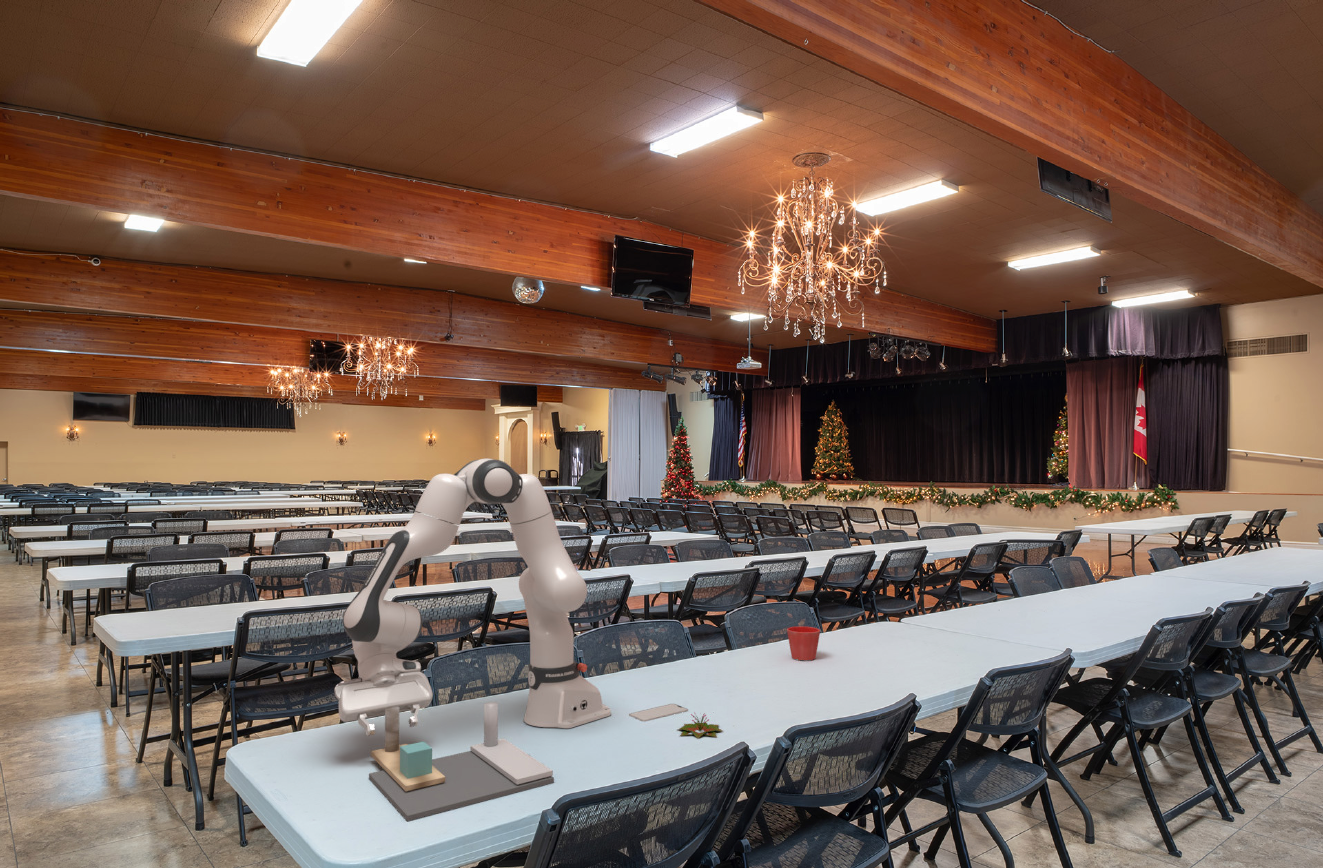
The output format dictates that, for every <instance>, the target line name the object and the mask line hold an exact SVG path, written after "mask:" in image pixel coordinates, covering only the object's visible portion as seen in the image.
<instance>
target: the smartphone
mask: <svg viewBox="0 0 1323 868" xmlns="http://www.w3.org/2000/svg"><path fill="white" fill-rule="evenodd" d="M682 712H683V713H687V712H689V709H688V708H686V707H683V706H681V705H678V704H676V703H669V704H668V703H667V704H664V705H660V706H655V707H651V708H648V709H643V710H640V711H635V712H631V713H628V716H629V717H631V718H634V719H635V720H638V721H640V722H648V721H652V720H653V721H654V720H657V719H662V718H665V717H669V716H670V717H671V716H675V715H679V714H682ZM674 714H675V715H674Z"/></svg>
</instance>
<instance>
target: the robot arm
mask: <svg viewBox="0 0 1323 868" xmlns="http://www.w3.org/2000/svg"><path fill="white" fill-rule="evenodd" d="M475 502H476V503H479V504H491V505H496V504H498V505H500V504H501V505H502V507H503V508H504V509H505V512H506V513H507V519H508V522H509V525H510V528H511V531H512V535H513V539H514V542H515V544H516V548H517V552H518V554H519V555H520V556H521V558H522V559H523V560H524V563H525V564H526V565H527V567H526V568H525V569H524V570H523V572H522V573H521V575H520V577H519V579H518V589H519V592H520V593H521V595H522V598H523V603H524V607H525V613H526V617H527V622H528V628H529V629H528V630H529V645H530V646H529V647H530V648H529V649H530V650H529V651H530V652H529V653H530V654H529V659H530V660H529V661H530V663H528V671H527V672H528V673H527V674H528V675H527V676H528V677H527V678H528V681H527V682H528V688H529V689H528V699H527V704H526V708H525V709H526V710H525V714H524V717H523V721H524V723H526V724H527V725H530V726H534V727H538V728H539V727H540V728H541V727H542V728H559V729H572V728H574V727H577V726H581V725H585V724H587V723H591V722H594V721H597V720H600V719H603V718H607V717H610V716H611V715H612V711H611V708H610V707H609V706H607V705H606V704H604V703H603V699H602V694H601V692H600V690H599V689H598V687H597V686H596V685H594V684H592V683H591V682H590V681H588V679H586V678H584V677H583V676H582V675H581V674H580V672H582V673H585V672H587V670H588V669H587V668H588V665H587V664H585V663H583V662H577V661H575V660H574V658H575V657H574V631H573V627H572V626H571V623H570V621H569V618H568V613H569V612H574V611H576V610H578V609H579V608H581V607H582V605H583V604H584V603H585V601H586V599H587V597H588V587H587V583H586V582H585V579H584V578H583V577H582V576H581V575H580V573H579V572H578V570H577V569H576V566H575V565H574V564H573V561H572V559H571V557H570V555H569V554H568V551H567V550H566V548H565V546H564V544H563V541H562V539H561V536H560V533H559V531H558V527H557V524H556V521H555V517H554V514H553V510H552V507H551V504H550V502H549V498H548V495H547V494H546V491H545V489H544V487H543V485H542V483H541V481H540V480H539V478H538V477H536V475H534V474H530V473H522V474H521V473H520V474H519V473H518V472H516V470H514V469H513V468H512V467H511V466H510V464H508V463H507V462H505V461H503V460H500V459H493V458H481V459H474V460H472V461H469V462H468V463H465V465H463V466H462V467H461V468H460V469H459V470H458V471H456V472H455V473H454V474H452V473H439V474H436V475H434V476H433V477H432V478H431V479H430V481H429V482H428V484H427V485H426V487H425V489H424V491H423V493H422V494H421V496H420V498H419V500H418V502H417V504H416V507H415V509H414V512H413V515H412V517H410V519H409V522H407V524H406V525H405V526H404V527H403V528H402V529H401V530H399V531H397V532H396V531H395V532H394V533H393V535H392V536H391V537H390V538H389V539H388V541H387V542H386V544H385V545H384V547H383V548H382V551H381V552H380V554H379V556H378V558H377V559H376V561H375V562H374V564H373V566H372V568H371V570H370V572H369V573H368V575H367V577H366V579H365V580H364V582H363V584H362V586H361V587H360V589H359V590H358V592H357V593H356V595H355V597H353V599H351V601H350V602H349V604H348V605H347V606H346V609H345V611H344V613H343V616H342V625H343V629H344V631H345V633H346V635H347V636H348V637H349V639H350V640H351V644H352V648H353V654H354V657H355V658H356V660H357V672H358V676H359V678H353V679H349V680H342V681H340V682H339V683H337V684H336V685H335V687H334V689H333V690H334V696H335V698H336V699H337V700H338V715H339V719H340V720H341V721H342V722H343V723H346V722H352V721H357V723H358V725H359V726H361V728H363V730H365V735H366V736H368V737H369V736H372V735H373V736H374V735H375V733H376V728H375V723H372V724H371V723H370V722H369V721H368V720H367V719H370V718H374V717H375V718H376V717H380V716H385V709H386V708H388V707H399V713H402V712H407V711H410V713H411V714H412V716H410V717H409V719H408V724H409V725H408V727H409V728H413V727H418V724H419V720H418V714H419V710H420V709H425V708H428V707H429V706H430V704H431V702H432V700H433V695H434V693H433V690H432V687H431V685H430V682H429V680H428V677H427V676H426V674H425V673H423V672H421V669H422V666H421V663H420V662H419V661H415V660H408V659H402V658H398V657H397V653H398V652H401V651H403V650H404V649H406V648H407V647H408V646H410V645H412V643H414V642H415V641H416V640H417V639H418V638H419V636H420V634H421V632H422V629H423V618H422V614H421V612H420V610H419V609H418V608H417V607H416V606H413V605H410V604H406V603H401V602H394V601H390V600H386V599H385V596H386V594H387V593H388V590H389V589H390V587H391V586H392V584H393V582H394V580H395V578H396V576H397V574H398V573H399V572H400V570H401V568H402V567H403V566H404V565H405V564H406V563H408V562H411V561H412V560H416V559H420V558H426V557H431V556H432V557H433V556H435V555H438V554H441V553H443V552H444V551H446V550H447V549H448V548H449V547H450V546H451V545H452V543H454V540H455V537H456V536H457V533H458V531H459V528H460V525H461V523H462V519H463V516H464V513H465V512H466V510H467V508H468V507H469V506H470V505H471V504H474V503H475Z"/></svg>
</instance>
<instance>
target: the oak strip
mask: <svg viewBox="0 0 1323 868" xmlns="http://www.w3.org/2000/svg"><path fill="white" fill-rule="evenodd" d="M405 745H409V744H408V743H402V744H400V712H399V707H388V708H386V709H385V715H384V748H379V749H374V750H371V751H370V756H371V757H372V759H374V761H375V762H376V763H377V764H379V766H380V767H381V768H382V769H383V770H385V771H386V772H387V773H388V774H389V775H390V776H391V777H392V778H393V779H394V780H395V781H396V782H397V783H398V784H399V785H400V786H401V787H402V788H403V789H404V790H405V791H410V790H414V789H418V788H422V787H426V786H430V785H434V784H439V783H443V782H445V776H444V775H443V774H442V773H440V772H439V771H438V770H437V769H436V768H435V767H434V766H432V773H431V774H426V775H422V776H418V777H413V778H409V779H407V778H406V777H405V776H404V775H403V774H402V773H401V772H400V746H405Z"/></svg>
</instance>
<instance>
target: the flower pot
mask: <svg viewBox="0 0 1323 868" xmlns="http://www.w3.org/2000/svg"><path fill="white" fill-rule="evenodd" d="M786 632H787V638H788V645H789V650H790V654H791V658H792V660H795V659H798V660H797V661H800V660H805V661H804V662H807V661H806V660H811V661H814V660H815V659H816V658H817V657H816V656H817V652H818V647H819V641H820V634H821V630H820V629H819V628H817V627H813V626H812V627H811V626H791V627H788V628H787V629H786ZM813 659H814V660H813Z"/></svg>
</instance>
